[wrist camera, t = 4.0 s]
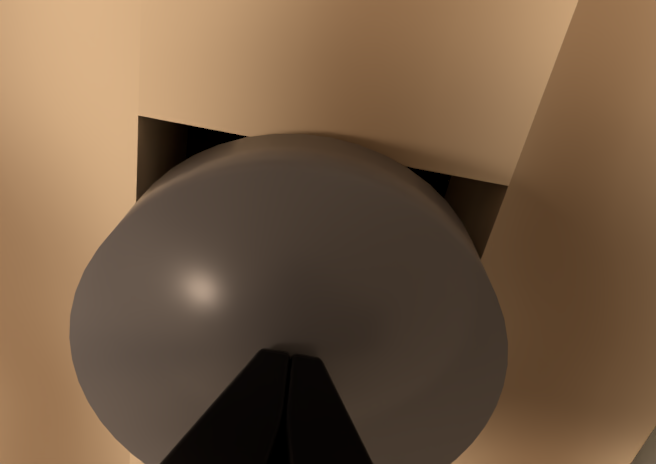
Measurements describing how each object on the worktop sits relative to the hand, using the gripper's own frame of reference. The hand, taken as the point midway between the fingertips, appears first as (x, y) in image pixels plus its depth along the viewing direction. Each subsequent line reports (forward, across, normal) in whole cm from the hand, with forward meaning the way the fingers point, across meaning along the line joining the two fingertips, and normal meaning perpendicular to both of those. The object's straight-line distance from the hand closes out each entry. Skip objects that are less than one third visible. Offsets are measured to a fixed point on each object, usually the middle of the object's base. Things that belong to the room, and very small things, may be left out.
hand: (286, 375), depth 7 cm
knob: (+5, 0, 0) cm, 5 cm away
